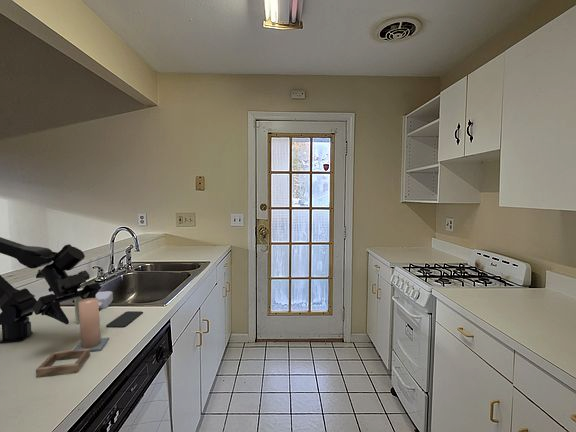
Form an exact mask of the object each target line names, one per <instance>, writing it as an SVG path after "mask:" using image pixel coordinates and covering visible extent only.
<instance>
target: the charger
mask: <svg viewBox="0 0 576 432" xmlns="http://www.w3.org/2000/svg"><path fill="white" fill-rule="evenodd" d="M113 294H114V293H113V291H110V290H108V291H107V290H106V291H98V293H97V294H96V298H98V305H99V309H106V308H108V307H109V306H110V304H111V303H112V301H113V300H114V295H113Z"/></svg>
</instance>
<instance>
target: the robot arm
mask: <svg viewBox="0 0 576 432" xmlns="http://www.w3.org/2000/svg"><path fill="white" fill-rule="evenodd" d="M0 254H3V255H4V256H8V257H11V258H14V259H15V260H17V261H18V263H20V264H21V265H23V266H25V267H26V268H29V269H37V268H40V267H43V268H41V269H38V270H37V273H36V275H35V278H36V279H44V280H45V281H46V283H47V284H48V286H49V288H47V290H48V292H49V293H51V292H52V293H51V294H47V295H43V296H40V297H39V298H38V299H36V295H35V294H33V293H32V292H30V291H29V289H28V288H26V287H24V288H23V289H17V288H15V287H14V286H13V285H12V284H11V283H9V281H7V280H6V279H5V277H3V275H1V274H0V311H1V312H0V326H1V336H2V337H1V339H0V344H2V343H3V344H4V343H14V342H22V341H25V340H26V339H27V338H28V337H29V336H31V335H32V334H33V331H32V321H30V316H33V315H36V316H38V315H41V316H47V317H49V318H53V319H54V320H56V321H58V322H61V323H62V324H64V325H69V323H70V321H69V318H68V316H67V315H66V314H65V312H64V310H63V309H62V307H61V303H63V302H66V301H70V300H72V299H73V300H74V298H77V297H81V298H82V299H87V298H96V294H97V293H98V292H100V290H101V289H102V286H101V285H100V283H99V282H96V281H95V282H92V283H87V280H90V274H89V272H88V271H87V270H81V271H78V272H77V273H76V274H73V275H68V273H67V271H71V270H73V269H74V268H75V267H76V266H77V265H79V263H80V262H81V261H82V260H84V259H85V257H86V256H85V253H84V251H83V250H81V249H79V248H77V247H76V246H72V245H71V244H70V243H69V244H66V245H64V246H63V247H62V248H61V250H59V251H53V250H52V249H50V248H47V247H42V246H32V245H31V246H30V245H25V244H22V243H19V242H16V241H12V240H10V239H7V238H5V237H1V236H0ZM85 283H87V284H85ZM82 284H85V285H84V287H83V289H82V290H80V291H78V290H77V289H81V288H82V287H81V286H82Z"/></svg>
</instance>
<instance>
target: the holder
mask: <svg viewBox="0 0 576 432" xmlns="http://www.w3.org/2000/svg"><path fill="white" fill-rule="evenodd" d="M90 356H91V352H90V349H81V350H73V349H72V350H63V351H55V352H52V353H51V354H50V355H49V356H48V357H47V358H46V359H45V360H44V361H43V362H42V363H41V364H40V365H39V366H38V367H37V368H36V369H35V377H36V378H42V377H52V376H58V375H66V374H67V375H68V374H76V373H78V372H79V371H80V370H81V368H82V367H83V366H84V364H85V363H86V362H87V360H88V359H89V357H90ZM71 359H72V360H74V359H76V361H75V363H71V364H70V363H69V364H63V365H62V364H61V365H53V364H54V363H55V362H56V361H60V360H61V361H62V360H71Z"/></svg>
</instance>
